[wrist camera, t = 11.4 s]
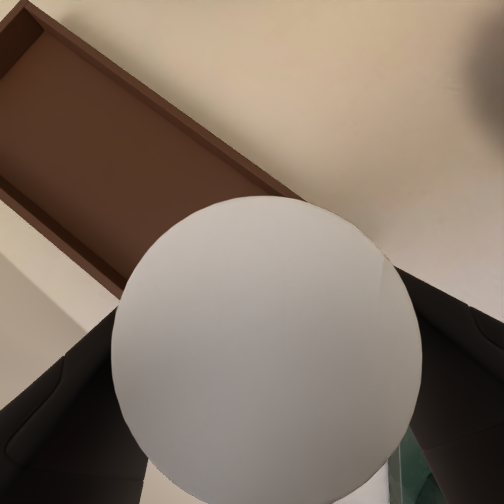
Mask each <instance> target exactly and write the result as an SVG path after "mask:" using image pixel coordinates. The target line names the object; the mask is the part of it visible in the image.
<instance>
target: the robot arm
mask: <svg viewBox="0 0 504 504" xmlns="http://www.w3.org/2000/svg"><path fill="white" fill-rule="evenodd" d="M394 268H395V269H396V271H397V272H398V274H399V275H400V277H401V279H402V281H403V283H404V285H405V287H406V289H407V292H408V294H409V297H410V299H411V302H412V305H413V308H414V311H415V314H416V318H417V321H418V326H419V331H420V336H421V346H422V373H421V384H420V389H419V393H418V397H417V401H416V405H415V409H414V413H413V415H412V418H411V420H410V423H409V426H410V428H411V430H412V432H413V434H414V436H415V438H416V440H417V442H418V444H419V446H420V449H421V450H422V453H423V455H424V457H425V459H426V461H427V463H428V465H429V467H430V469H431V471H432V473H433V475H434V477H435V479H436V481H437V483H438V486H439V488H440V490H441V492H442V494H443V496H444V498H445V500H446V502H447V504H504V323H502V322H500V321H498V320H496V319H494V318H493V317H491V316H489V315H487V314H485V313H483V312H481V311H479V310H477V309H475V308H473V307H471V306H470V307H469V306H468V305H467V304H466V303H464V302H462V301H460V300H458V299H456V298H454V297H452V296H450V295H448V294H447V293H445V292H443V291H441V290H439V289H437V288H435V287H433V286H431V285H429V284H428V283H426V282H424V281H422V280H420V279H418V278H416V277H414V276H412V275H410V274H408V273H407V272H405V271H403V270H401V269H399V268H397V267H395V266H394ZM117 308H118V306H117V307H116V308H115V309H114V310H113V311H112V312H111V313H110V314H109V315H107V316H106V317H105V318H104V319H103V320H102V321H101V322H100V323H99V324H98V325H96V326H95V327H94V328H93V329H92V330H91V331H90V332H89V333H88V334H87V335H85V336H84V337H83V338H82V339H81V340H80V341H79V342H78V343H77V344H76V345H75V346H73V347H72V348H71V349H70V350H69V351H68V352H67V353H66V354H65V356H62V357H61V358H60V359H59V360H58V361H57V362H56V363H55V364H53V366H51V367H50V368H49V369H48V370H47V371H46V372H45V373H43V374H42V375H41V376H40V377H39V378H38V379H37V380H36V381H34V382H33V383H32V384H31V385H30V386H29V387H28V388H27V389H25V390H24V391H23V392H22V393H21V394H20V395H18V396H17V397H16V398H15V399H14V400H12V401H11V402H10V403H9V404H8V405H6V406H5V407H4V408H3V409H2V410H0V504H139V502H140V497H141V493H142V488H143V480H144V477H145V472H146V467H147V463H148V457H147V456H146V455H145V453H144V452H143V451H142V449H141V448H140V447H139V445H138V443H137V441H136V439H135V438H134V436H133V435H132V433H131V431H130V429H129V427H128V425H127V424H126V422H125V420H124V417H123V415H122V411H121V408H120V405H119V401H118V398H117V395H116V393H115V388H114V382H113V377H112V363H111V341H112V333H113V327H114V322H115V315H116V311H117Z"/></svg>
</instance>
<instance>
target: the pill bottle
mask: <svg viewBox="0 0 504 504" xmlns="http://www.w3.org/2000/svg"><path fill="white" fill-rule="evenodd" d="M111 363H112V377H113V382H114V388H115V393H116V395H117V398H118V401H119V405H120V408H121V411H122V415H123V417H124V420H125V422H126V424H127V425H128V427H129V429H130V431H131V433H132V435H133V436H134V438H135V439H136V441H137V443H138V445H139V447H140V448H141V449H142V451H143V452H144V453H145V455H146V456H147V457H148V458H149V459H150V461H151V462H152V463H153V464H154V465H155V466H156V467H157V469H158V470H159V471H160V472H162V473H163V474H164V475H165V476H166V477H167V478H168V479H169V480H171V481H172V482H173V483H174V484H176V485H177V486H178V487H180V488H181V489H182V490H184V491H185V492H187V493H188V494H190V495H192V496H194V497H196V498H198V499H199V500H201V501H204V502H206V503H208V504H332V503H334V502H335V501H337V500H339V499H341V498H343V497H345V496H347V495H349V494H350V493H352V492H353V491H355V490H356V489H357V488H359V487H360V486H362V485H363V484H364V483H366V482H367V481H368V480H369V479H370V478H371V477H372V476H373V475H374V474H375V473H376V472H377V471H378V470H379V469H380V468H381V467H382V466H383V465H384V464H385V462H386V461H387V460H388V459H389V457H390V456H391V455H392V454H393V453H394V451H395V450H396V448H397V447H398V445H399V443H400V441H401V440H402V438H403V436H404V435H405V433H406V431H407V428H408V425H409V423H410V420H411V418H412V415H413V413H414V409H415V405H416V401H417V397H418V393H419V389H420V384H421V373H422V346H421V336H420V331H419V326H418V321H417V318H416V314H415V311H414V308H413V305H412V302H411V299H410V297H409V294H408V292H407V289H406V287H405V285H404V283H403V281H402V279H401V277H400V275H399V274H398V272H397V271H396V269H395V268H394V266H393V265H392V263H391V262H390V260H389V259H388V258H387V257H386V256H385V254H384V253H383V252H382V251H381V250H380V249H379V247H378V246H377V245H376V244H375V243H374V242H373V241H372V240H370V239H369V238H368V237H367V236H366V235H365V234H364V233H363V232H361V231H360V230H359V229H358V228H357V227H355V226H354V225H352V224H351V223H349V222H348V221H346V220H345V219H343V218H341V217H340V216H338V215H336V214H334V213H332V212H330V211H328V210H325V209H323V208H321V207H319V206H316V205H313V204H310V203H307V202H304V201H301V200H297V199H292V198H286V197H278V196H249V197H240V198H234V199H230V200H227V201H223V202H219V203H216V204H213V205H211V206H208V207H206V208H204V209H201V210H199V211H197V212H195V213H193V214H191V215H190V216H188V217H186V218H185V219H183V220H182V221H180V222H179V223H177V224H176V225H174V226H173V227H172V228H170V229H169V230H168V231H167V232H166V233H164V234H163V235H162V236H161V237H160V238H159V239H158V240H157V241H156V242H155V243H154V244H153V245H152V246H151V247H150V248H149V250H148V251H147V252H146V254H145V255H144V256H143V258H142V259H141V261H140V262H139V263H138V265H137V266H136V268H135V269H134V271H133V273H132V275H131V277H130V278H129V280H128V282H127V284H126V287H125V289H124V292H123V294H122V297H121V299H120V302H119V305H118V308H117V311H116V315H115V322H114V327H113V333H112V341H111Z"/></svg>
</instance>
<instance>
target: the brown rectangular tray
mask: <svg viewBox="0 0 504 504" xmlns="http://www.w3.org/2000/svg"><path fill="white" fill-rule="evenodd" d="M249 196H278V197H286V198H292V199H297V200H301V201H304V202H306V201H305V200H304V199H302V198H301V197H299V196H298V195H297V194H295V193H294V192H292V191H291V190H290V189H288V188H287V187H286V186H284V185H283V184H281V183H280V182H279V181H277V180H276V179H274V178H273V177H272V176H270V175H269V174H268V173H266V172H265V171H263V170H262V169H261V168H259V167H258V166H256V165H255V164H254V163H252V162H251V161H249V160H248V159H247V158H245V157H244V156H243V155H241V154H240V153H238V152H237V151H236V150H234V149H233V148H231V147H230V146H229V145H227V144H226V143H225V142H223V141H222V140H220V139H219V138H218V137H216V136H215V135H213V134H212V133H211V132H209V131H208V130H207V129H205V128H204V127H202V126H201V125H200V124H198V123H197V122H195V121H194V120H193V119H191V118H190V117H189V116H187V115H186V114H184V113H183V112H182V111H180V110H179V109H177V108H176V107H175V106H173V105H172V104H171V103H169V102H168V101H166V100H165V99H164V98H162V97H161V96H159V95H158V94H157V93H155V92H154V91H153V90H151V89H150V88H148V87H147V86H146V85H144V84H143V83H141V82H140V81H139V80H137V79H136V78H135V77H133V76H132V75H130V74H129V73H128V72H126V71H125V70H123V69H122V68H121V67H119V66H118V65H117V64H115V63H114V62H112V61H111V60H110V59H108V58H107V57H105V56H104V55H103V54H101V53H100V52H99V51H97V50H96V49H94V48H93V47H92V46H90V45H89V44H87V43H86V42H85V41H83V40H82V39H81V38H79V37H78V36H76V35H75V34H74V33H72V32H71V31H69V30H68V29H67V28H65V27H64V26H63V25H61V24H60V23H58V22H57V21H56V20H54V19H53V18H51V17H50V16H49V15H47V14H46V13H45V12H43V11H42V10H40V9H39V8H38V7H36V6H35V5H33V4H32V3H31V2H29V1H28V0H20V1H19V2H18V3H17V4H16V6H15V7H14V8H13V9H12V10H11V11H10V12H9V13H8V14H7V15H6V17H5V18H4V19H3V20H2V21H1V22H0V199H1V200H2V201H3V202H4V203H5V204H6V205H8V206H9V207H10V208H11V209H12V210H14V211H15V212H16V213H17V214H18V215H20V216H21V217H22V218H23V219H24V220H25V221H27V222H28V223H29V224H30V225H31V226H33V227H34V228H35V229H36V230H37V231H38V232H40V233H41V234H42V235H43V236H44V237H46V238H47V239H48V240H49V241H50V242H52V243H53V244H54V245H55V246H56V247H57V248H59V249H60V250H61V251H62V252H63V253H65V254H66V255H67V256H68V257H69V258H70V259H72V260H73V261H74V262H75V263H76V264H78V265H79V266H80V267H81V268H82V269H84V270H85V271H86V272H87V273H88V274H89V275H91V276H92V277H93V278H94V279H95V280H97V281H98V282H99V283H100V284H101V285H103V286H104V287H105V288H106V289H107V290H108V291H110V292H111V293H112V294H113V295H114V296H116V297H117V298H118V299H119V300H120V299H121V297H122V294H123V292H124V289H125V287H126V284H127V282H128V280H129V278H130V277H131V275H132V273H133V271H134V269H135V268H136V266H137V265H138V263H139V262H140V261H141V259H142V258H143V256H144V255H145V254H146V252H147V251H148V250H149V248H150V247H151V246H152V245H153V244H154V243H155V242H156V241H157V240H158V239H159V238H160V237H161V236H162V235H163V234H164V233H166V232H167V231H168V230H169V229H170V228H172V227H173V226H174V225H176V224H177V223H179V222H180V221H182V220H183V219H185V218H186V217H188V216H190V215H191V214H193V213H195V212H197V211H199V210H201V209H204V208H206V207H208V206H211V205H213V204H216V203H219V202H223V201H227V200H230V199H234V198H240V197H249ZM307 203H308V202H307Z"/></svg>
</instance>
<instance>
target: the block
mask: <svg viewBox="0 0 504 504" xmlns="http://www.w3.org/2000/svg"><path fill="white" fill-rule="evenodd" d="M388 464H389V487H390V504H447V502H446V500H445V498H444V496H443V494H442V492H441V490H440V488H439V486H438V483H437V481H436V479H435V477H434V475H433V473H432V471H431V469H430V467H429V465H428V463H427V461H426V459H425V457H424V455H423V453H422V450H421V449H420V446H419V444H418V442H417V440H416V438H415V436H414V434H413V432H412V430H411V428H410V426H409V425H408V428H407V431H406V433H405V435H404V436H403V438H402V440H401V441H400V443H399V445H398V447H397V448H396V450H395V451H394V453H393V454H392V455H391V456H390V457H389V459H388Z"/></svg>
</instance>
